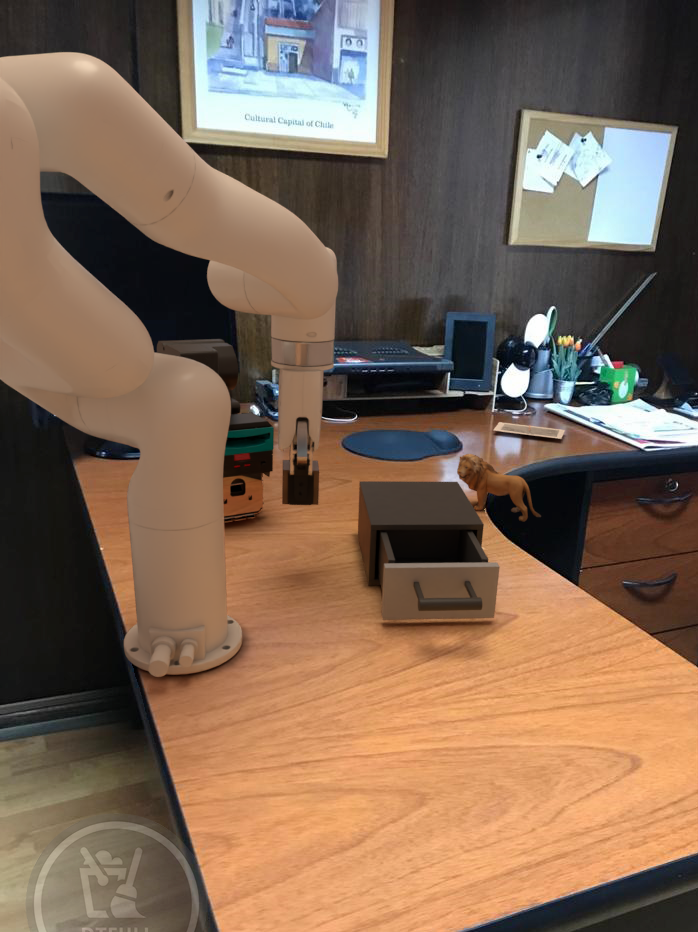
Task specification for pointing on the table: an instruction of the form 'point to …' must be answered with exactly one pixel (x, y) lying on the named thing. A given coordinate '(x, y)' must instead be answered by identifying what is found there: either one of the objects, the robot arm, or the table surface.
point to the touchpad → (529, 430)
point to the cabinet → (410, 513)
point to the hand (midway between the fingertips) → (299, 495)
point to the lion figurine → (493, 484)
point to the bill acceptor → (234, 431)
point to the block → (285, 481)
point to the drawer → (434, 575)
